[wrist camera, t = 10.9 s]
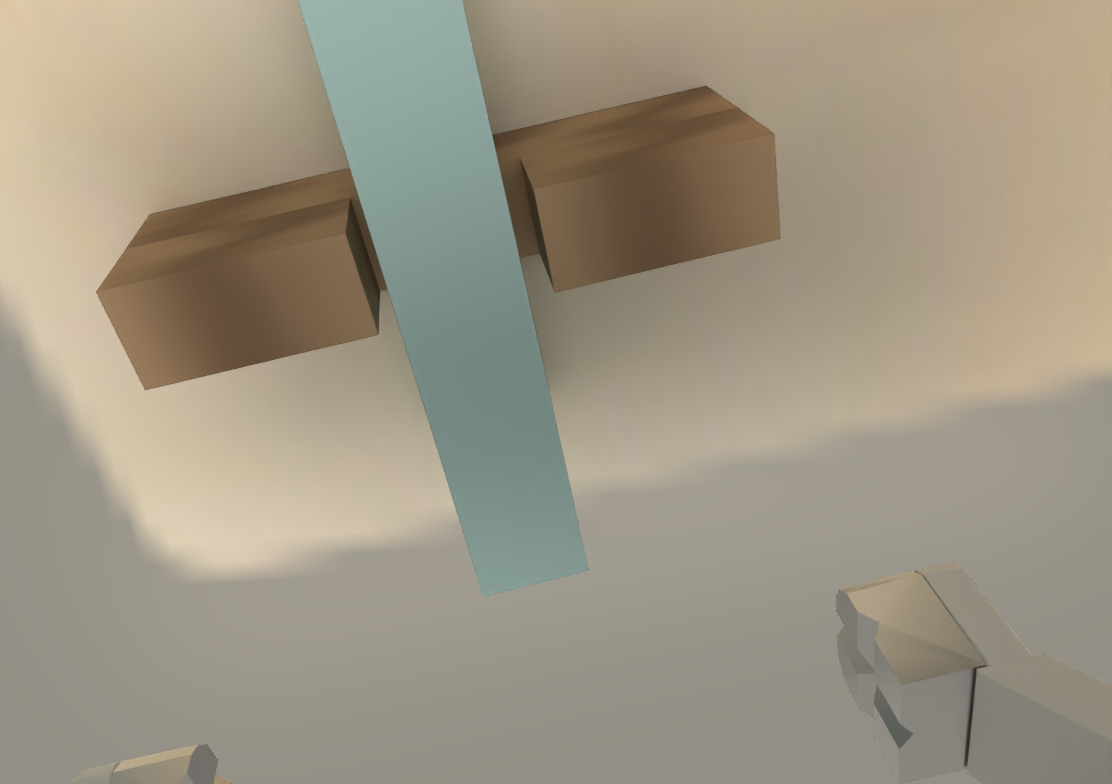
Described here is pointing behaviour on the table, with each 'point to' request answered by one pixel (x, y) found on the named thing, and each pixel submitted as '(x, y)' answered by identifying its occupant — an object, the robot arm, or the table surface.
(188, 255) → the walnut notched block
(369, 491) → the table surface
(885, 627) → the robot arm
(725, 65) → the table surface
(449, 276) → the teal plate
